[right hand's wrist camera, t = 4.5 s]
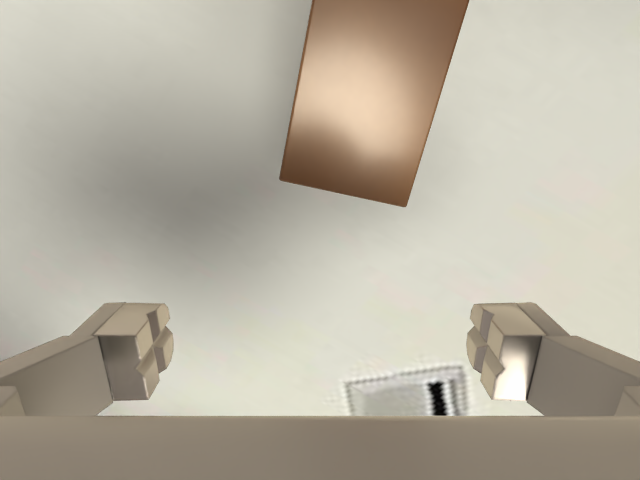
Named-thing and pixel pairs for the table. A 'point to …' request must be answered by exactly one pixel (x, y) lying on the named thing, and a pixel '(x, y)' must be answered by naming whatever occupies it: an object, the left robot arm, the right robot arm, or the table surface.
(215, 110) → the table surface
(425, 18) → the bar
